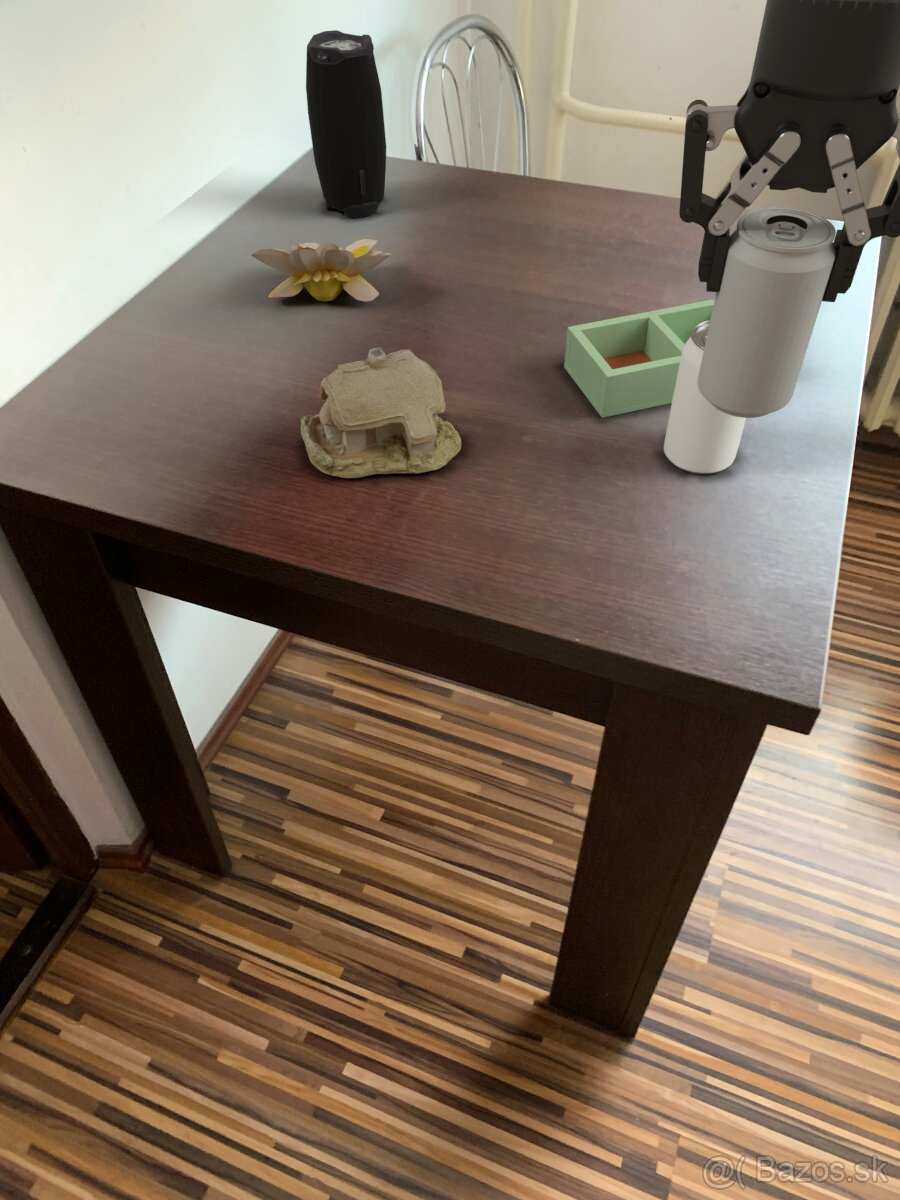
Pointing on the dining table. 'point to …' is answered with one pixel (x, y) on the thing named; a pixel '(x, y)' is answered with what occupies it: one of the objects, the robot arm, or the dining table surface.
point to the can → (699, 418)
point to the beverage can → (765, 309)
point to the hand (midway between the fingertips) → (769, 290)
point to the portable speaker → (346, 121)
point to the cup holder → (632, 357)
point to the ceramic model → (380, 419)
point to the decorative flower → (325, 269)
